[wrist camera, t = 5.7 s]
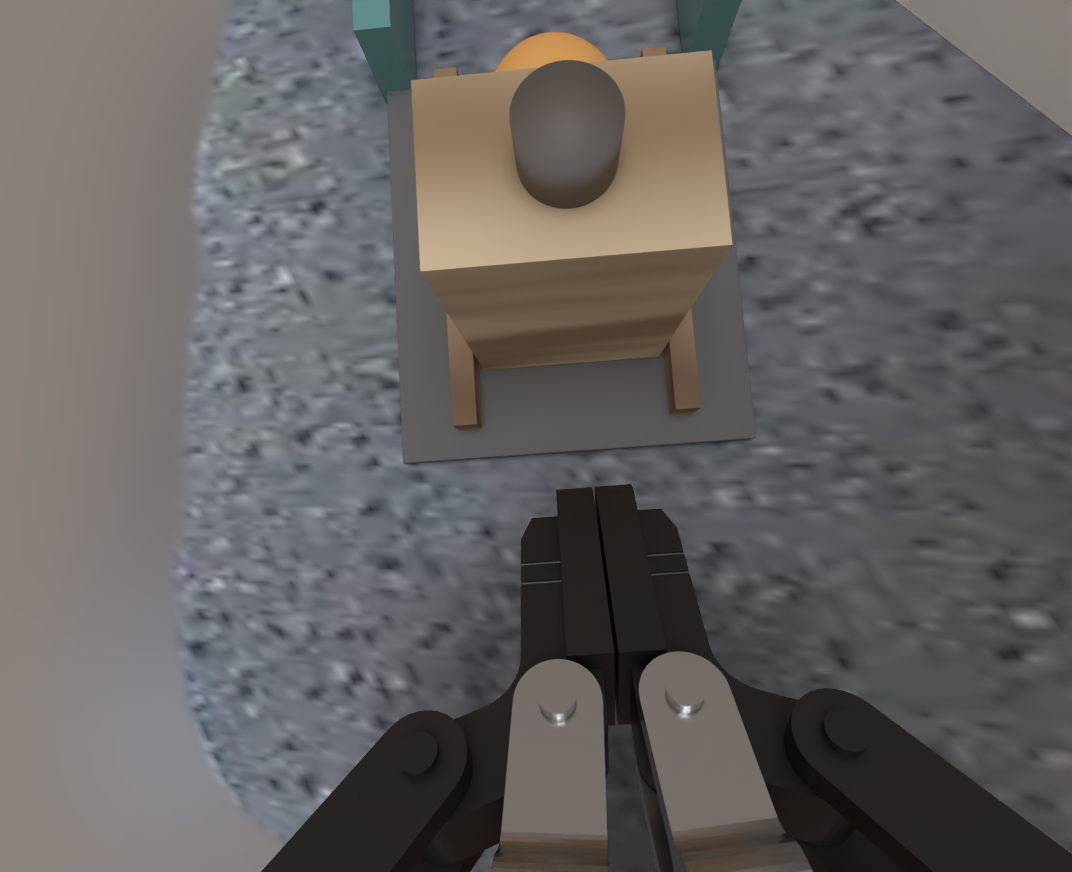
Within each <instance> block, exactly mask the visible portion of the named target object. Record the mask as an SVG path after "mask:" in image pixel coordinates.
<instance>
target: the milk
mask: <svg viewBox="0 0 1072 872" xmlns="http://www.w3.org/2000/svg"><path fill="white" fill-rule="evenodd" d="M895 1H897V2H898V3H899V4H901V5H902V6H903V7H905V8H906V9H907V10H908V11H910V12H911V13H912V14H914V15H915V16H916V17H918V18H919V19H920V20H922V21H923V22H924V23H925V24H927V25H928V26H929V27H931V28H932V29H933V30H935V31H936V32H937V33H938V34H940V35H941V36H942V37H944V38H945V39H946V40H948V41H949V42H950V43H951V44H953V45H954V46H955V47H957V48H958V49H959V50H961V51H962V52H963V53H965V54H966V55H967V56H968V57H970V58H971V59H972V60H974V61H975V62H976V63H978V64H979V65H980V66H981V67H983V68H984V69H985V70H987V71H988V72H989V73H991V74H992V75H993V76H994V77H996V78H997V79H998V80H1000V81H1001V82H1002V83H1004V84H1005V85H1006V86H1008V87H1009V88H1010V89H1011V90H1013V91H1014V92H1015V93H1017V94H1018V95H1019V96H1021V97H1022V98H1023V99H1024V100H1026V101H1027V102H1028V103H1030V104H1031V105H1032V106H1034V107H1035V108H1036V109H1037V110H1039V111H1040V112H1041V113H1043V114H1044V115H1045V116H1047V117H1048V118H1049V119H1051V120H1052V121H1053V122H1054V123H1056V124H1057V125H1058V126H1060V127H1061V128H1062V129H1064V130H1065V131H1066V132H1067V133H1069V134H1070V135H1071V136H1072V0H895Z"/></svg>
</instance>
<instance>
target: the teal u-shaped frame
mask: <svg viewBox="0 0 1072 872" xmlns="http://www.w3.org/2000/svg"><path fill="white" fill-rule="evenodd" d="M352 3H353V29H354V33H355V35H356V37H357V39H358V41H359V43H360V46H361V48H362V50H363V52H364V54H365V57H366V59H367V61H368V63H369V65H370V68H371V70H372V72H373V74H374V76H375V79H376V81H377V83H378V85H379V87H380V90H381V92H382V94H383V96H384V98H385V101H386V103H387V92H388V91H398V90H408V89H411V80H417V74H416V54H415V33H414V13H413V0H352ZM740 3H741V0H677V10H678V20H679V30H680V40H681V50H682V53H690V52H700V51H710V50H712V59H715V62H716V70H717V68H718V65H719V62H720V59H721V57H722V54H723V51H724V48H725V45H726V42H727V40H728V37H729V34H730V31H731V28H732V25H733V23H734V20H735V17H736V14H737V11H738V8H739V6H740Z"/></svg>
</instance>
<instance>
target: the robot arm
mask: <svg viewBox="0 0 1072 872" xmlns="http://www.w3.org/2000/svg"><path fill="white" fill-rule="evenodd" d="M556 495H557V510H558V516H556V517H542V518H532V519H531V521H530V523H529V525H528V527H527V529H526V531H525V533H524V535H523V537H522V539H521V663H520V667H519V671H518V674H517V676H516V679H515V680H514V682H513V684H512V685H511V687H510V688H509V689H508V690H507V691H506V693H504V694H503V695H502V696H501V697H500V698H499V699H497V700H496V701H495V702H493V703H491V704H489V705H487V706H485V707H483V708H481V709H478V710H476V711H474V712H471V713H469V714H466V715H464V716H462V717H459V718H457V719H454V720H453V719H452V718H451V717H449V716H448V715H446V714H444V713H441V712H437V711H419V712H415V713H412V714H409V715H407V716H405V717H404V718H402V719H400V720H399V721H397V722H396V723H395V724H394V725H393V726H392V727H390V728H389V729H388V730H387V732H386V733H385V734H384V735H383V736H382V737H381V738H380V739H379V741H378V742H377V743H376V744H375V745H374V746H373V747H372V748H371V749H370V751H369V752H368V753H367V754H366V755H365V756H364V757H363V758H362V760H361V761H360V762H359V763H358V764H357V765H356V766H355V767H354V769H353V770H352V771H351V772H350V773H349V774H348V775H347V776H346V777H345V779H344V780H343V781H342V782H341V783H340V784H339V785H338V786H337V788H336V789H335V790H334V791H333V792H332V793H331V794H330V795H329V796H328V798H327V799H326V800H325V801H324V802H323V803H322V804H321V805H320V807H319V808H318V809H317V810H316V811H315V812H314V813H313V814H312V815H311V817H310V818H309V819H308V820H307V821H306V822H305V823H304V824H303V826H302V827H301V828H300V829H299V830H298V831H297V832H296V833H295V834H294V836H293V837H292V838H291V839H290V840H289V841H288V842H287V843H286V845H285V846H284V847H283V848H282V849H281V850H280V851H279V852H278V853H277V855H276V856H275V857H274V858H273V859H272V860H271V861H270V862H269V864H268V865H267V866H266V867H265V868H264V869H263V870H262V872H470V871H471V870H472V868H473V867H474V865H475V864H476V862H477V861H478V859H479V858H480V856H481V855H482V853H483V852H484V850H485V849H488V848H490V847H492V846H494V845H496V844H498V843H499V847H498V850H497V851H496V853H495V856H494V859H493V863H492V868H491V872H609V871H608V842H607V811H606V778H607V774H608V768H609V763H608V725H615V701H616V709H617V717H618V725H619V724H631V725H632V732H633V739H634V746H635V753H636V758H635V771H636V777H637V782H638V786H639V791H640V796H641V801H642V805H643V810H644V815H645V820H646V824H647V829H648V834H649V839H650V843H651V848H652V853H653V858H654V862H655V867H656V872H1072V854H1071V853H1069V852H1068V851H1067V850H1065V849H1064V848H1062V847H1061V846H1060V845H1058V844H1057V843H1056V842H1054V841H1053V840H1052V839H1050V838H1049V837H1048V836H1046V835H1045V834H1044V833H1042V832H1041V831H1040V830H1038V829H1037V828H1036V827H1034V826H1033V825H1032V824H1030V823H1029V822H1028V821H1026V820H1025V819H1024V818H1022V817H1021V816H1020V815H1018V814H1017V813H1015V812H1014V811H1013V810H1011V809H1010V808H1009V807H1007V806H1006V805H1005V804H1003V803H1002V802H1001V801H999V800H998V799H997V798H995V797H994V796H993V795H991V794H990V793H989V792H987V791H986V790H985V789H983V788H982V787H981V786H979V785H978V784H977V783H975V782H974V781H972V780H971V779H970V778H968V777H967V776H966V775H964V774H963V773H962V772H960V771H959V770H958V769H956V768H955V767H954V766H952V765H951V764H950V763H948V762H947V761H946V760H944V759H943V758H942V757H940V756H939V755H938V754H936V753H935V752H934V751H932V750H931V749H929V748H928V747H927V746H925V745H924V744H923V743H921V742H920V741H919V740H917V739H916V738H915V737H913V736H912V735H911V734H909V733H908V732H907V731H905V730H904V729H903V728H901V727H900V726H899V725H897V724H896V723H895V722H893V721H892V720H891V719H889V718H888V717H886V716H885V715H884V714H882V713H881V712H880V711H878V710H877V709H876V708H874V707H873V706H872V705H870V704H869V703H867V702H866V701H864V700H863V699H861V698H860V697H857V696H855V695H853V694H851V693H848V692H845V691H842V690H837V689H817V690H814V691H811V692H809V693H807V694H805V695H804V696H803V697H802V698H800V699H799V700H796V699H792V698H788V697H784V696H780V695H776V694H772V693H769V692H765V691H761V690H758V689H755V688H751V687H749V686H747V685H745V684H743V683H741V682H739V681H738V680H736V679H735V678H733V677H732V676H731V675H729V674H728V673H727V672H726V671H725V670H724V669H723V668H722V667H721V666H720V664H719V663H718V662H717V660H716V659H715V657H714V655H713V654H712V652H711V649H710V646H709V643H708V640H707V636H706V632H705V629H704V625H703V621H702V618H701V614H700V610H699V607H698V603H697V599H696V596H695V592H694V588H693V585H692V581H691V577H690V575H689V572H688V566H687V563H686V559H685V556H684V554H683V548H682V544H681V541H680V537H679V533H678V530H677V527H676V526H675V525H674V524H673V523H672V521H671V520H670V519H669V518H668V517H667V516H666V514H665V513H664V512H663V511H662V510H661V509H650V510H637V505H636V501H635V496H634V491H633V487H632V485H631V484H627V485H614V486H600V487H595V503H594V496H593V489H592V487H589V488H576V489H562V490H556Z"/></svg>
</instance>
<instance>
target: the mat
mask: <svg viewBox="0 0 1072 872" xmlns="http://www.w3.org/2000/svg"><path fill="white" fill-rule="evenodd" d="M713 68H714V77H715V87H716V96H717V105H718V115H719V124H720V133H721V143H722V152H723V161H724V170H725V180H726V189H727V198H728V208H729V217H730V226H731V236H732V246H731V248H730V249H729V251H728V252H727V254H726V255H725V257H724V258H723V260H722V261H721V263H720V264H719V266H718V267H717V269H716V270H715V272H714V273H713V275H712V276H711V278H710V279H709V281H708V283H707V284H706V286H705V287H704V289H703V290H702V292H701V293H700V295H699V296H698V298H697V299H696V301H695V302H694V304H693V305H692V307H691V309H692V320H693V330H694V340H695V350H696V360H697V370H698V380H699V391H700V401H701V408H700V409H698V410H697V411H695V412H694V413H683V414H670V415H669V405H668V395H667V384H666V373H665V362H664V351H662V352H661V354H660V355H659V357H648V358H635V359H622V360H610V361H597V362H584V363H571V364H558V365H545V366H533V367H520V368H507V369H494V370H484V369H483V368H482V366H481V365H480V363H479V361H478V365H479V382H480V399H481V416H482V428H480V429H466V430H458V429H457V428H455V427H454V426H452V407H451V388H450V369H449V350H448V331H447V312H446V310H445V309H444V307H443V306H442V304H441V303H440V301H439V299H438V298H437V296H436V295H435V293H434V292H433V290H432V289H431V287H430V286H429V284H428V282H427V281H426V279H425V278H424V276H423V275H422V273H421V272H420V254H419V233H418V213H417V192H416V172H415V151H414V131H413V110H412V89H408V90H398V91H388V92H387V104H388V127H389V150H390V173H391V195H392V218H393V241H394V264H395V287H396V309H397V332H398V355H399V378H400V401H401V424H402V446H403V463H406V464H412V463H426V462H440V461H454V460H468V459H482V458H496V457H510V456H524V455H538V454H552V453H566V452H580V451H594V450H608V449H622V448H636V447H650V446H664V445H678V444H692V443H706V442H720V441H735V440H749V439H753V438H756V432H755V423H754V414H753V405H752V395H751V386H750V377H749V368H748V358H747V349H746V340H745V331H744V321H743V312H742V303H741V294H740V284H739V275H738V266H737V257H736V247H735V238H734V229H733V219H732V210H731V201H730V192H729V182H728V173H727V164H726V155H725V145H724V136H723V127H722V118H721V108H720V99H719V90H718V81H717V71H716V62H715V59H713Z"/></svg>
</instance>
